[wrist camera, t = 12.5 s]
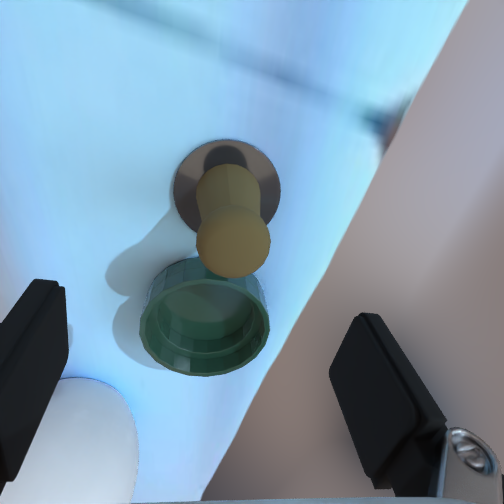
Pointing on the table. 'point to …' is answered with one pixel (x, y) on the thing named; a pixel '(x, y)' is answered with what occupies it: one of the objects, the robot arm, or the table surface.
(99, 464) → the pitcher
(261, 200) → the coaster
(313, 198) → the table surface
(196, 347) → the bowl
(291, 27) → the table surface
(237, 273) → the cork
